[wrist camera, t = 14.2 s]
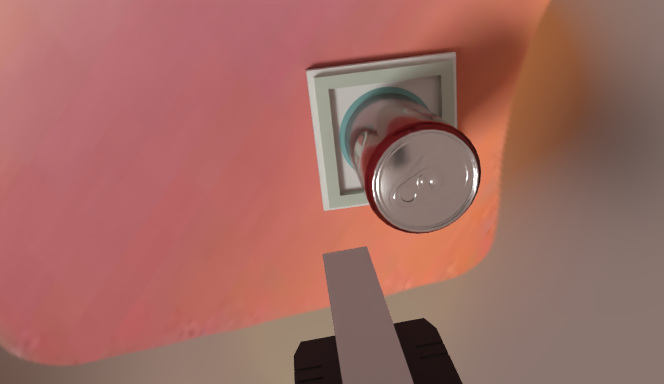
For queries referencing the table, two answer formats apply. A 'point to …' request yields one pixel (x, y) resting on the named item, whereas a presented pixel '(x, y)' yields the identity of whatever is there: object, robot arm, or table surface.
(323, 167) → the base plate
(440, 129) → the soda can
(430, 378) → the robot arm
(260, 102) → the table surface
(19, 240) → the table surface
